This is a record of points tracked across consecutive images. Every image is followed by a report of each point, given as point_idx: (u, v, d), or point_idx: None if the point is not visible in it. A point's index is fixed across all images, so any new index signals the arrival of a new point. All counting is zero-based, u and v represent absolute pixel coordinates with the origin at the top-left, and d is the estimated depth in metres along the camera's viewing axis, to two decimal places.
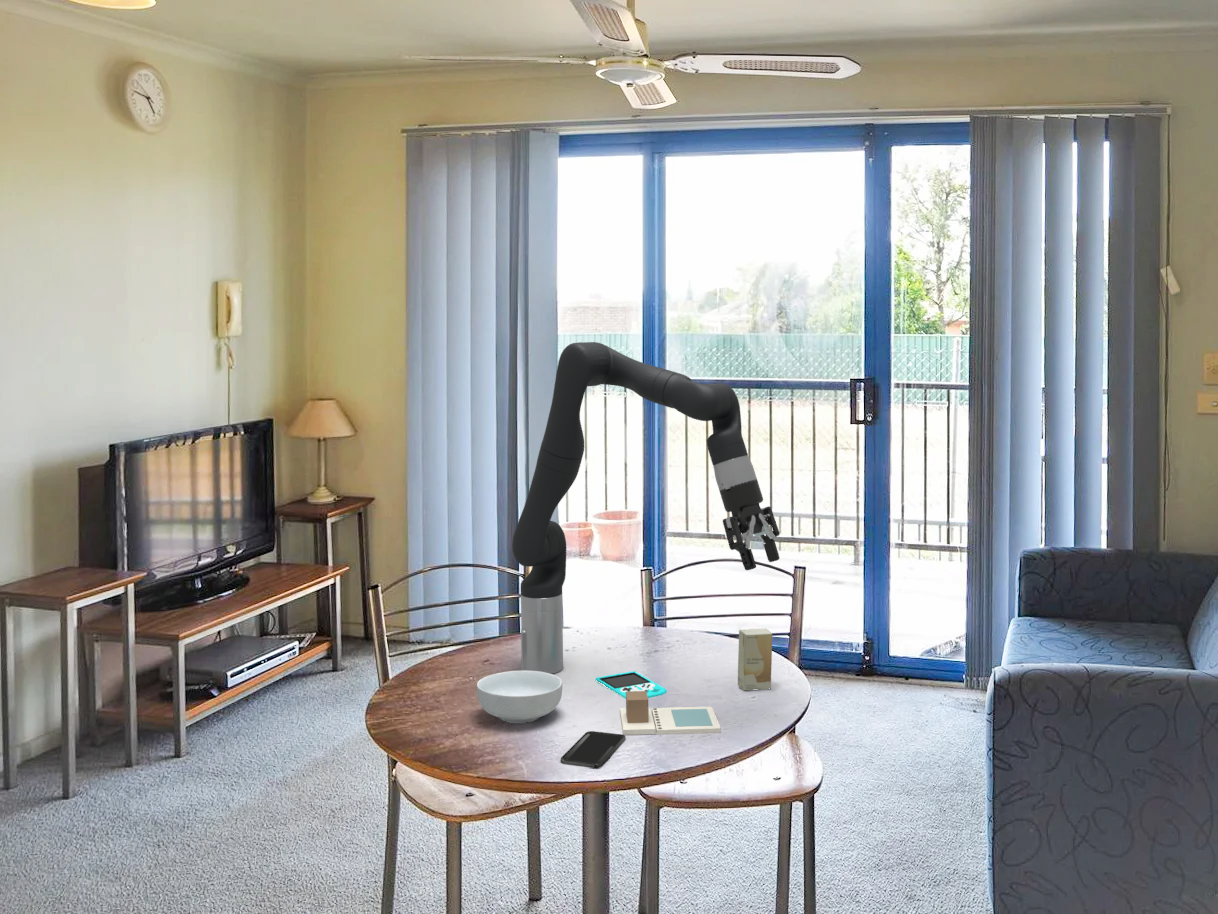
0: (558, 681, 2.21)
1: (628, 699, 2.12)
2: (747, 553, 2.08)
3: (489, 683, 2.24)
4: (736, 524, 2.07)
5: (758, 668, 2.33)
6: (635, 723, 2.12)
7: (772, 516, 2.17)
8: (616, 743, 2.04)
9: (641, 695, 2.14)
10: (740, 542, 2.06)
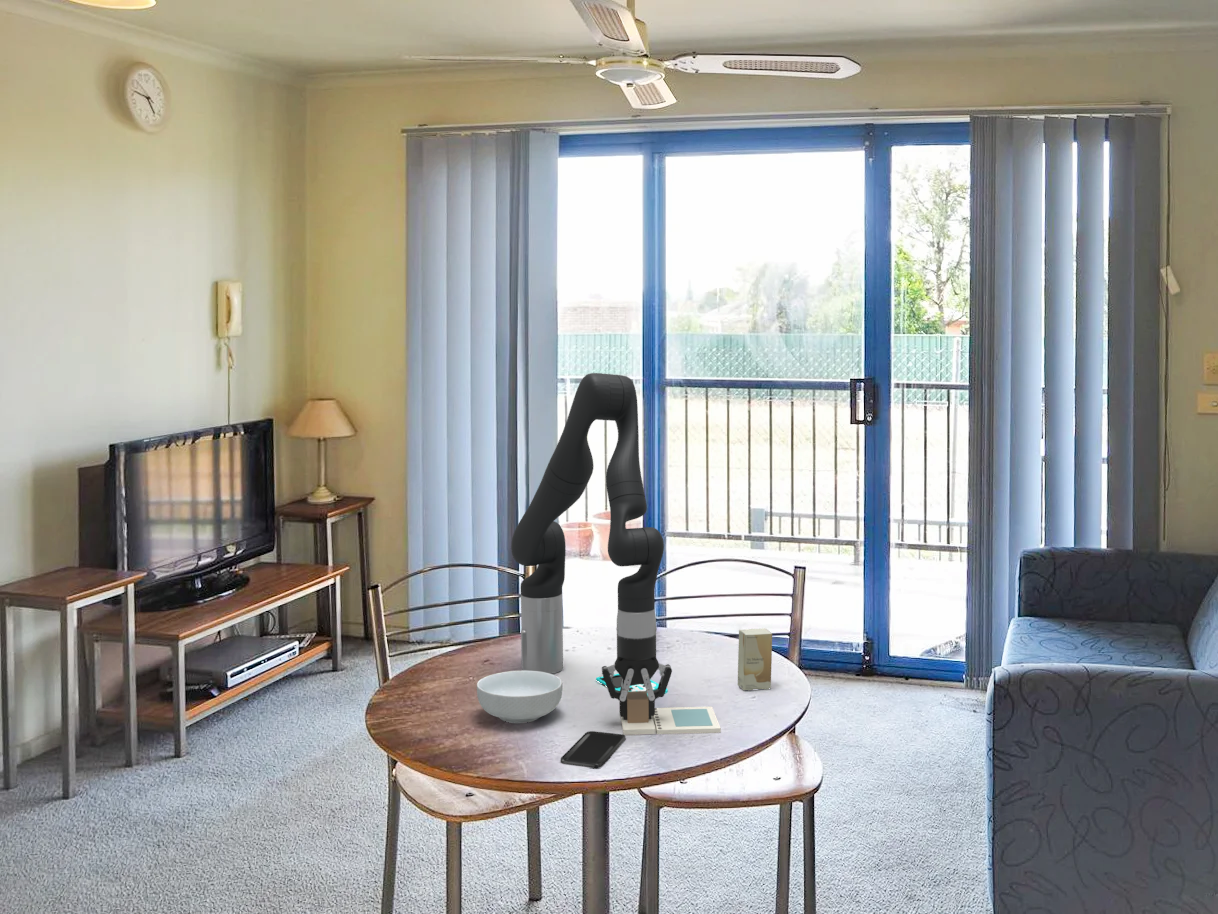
0: (558, 681, 2.21)
1: (628, 699, 2.12)
2: (621, 704, 2.14)
3: (489, 683, 2.24)
4: (607, 677, 2.12)
5: (758, 668, 2.33)
6: (635, 723, 2.12)
7: (667, 678, 2.13)
8: (616, 743, 2.04)
9: (641, 695, 2.14)
10: (612, 694, 2.13)
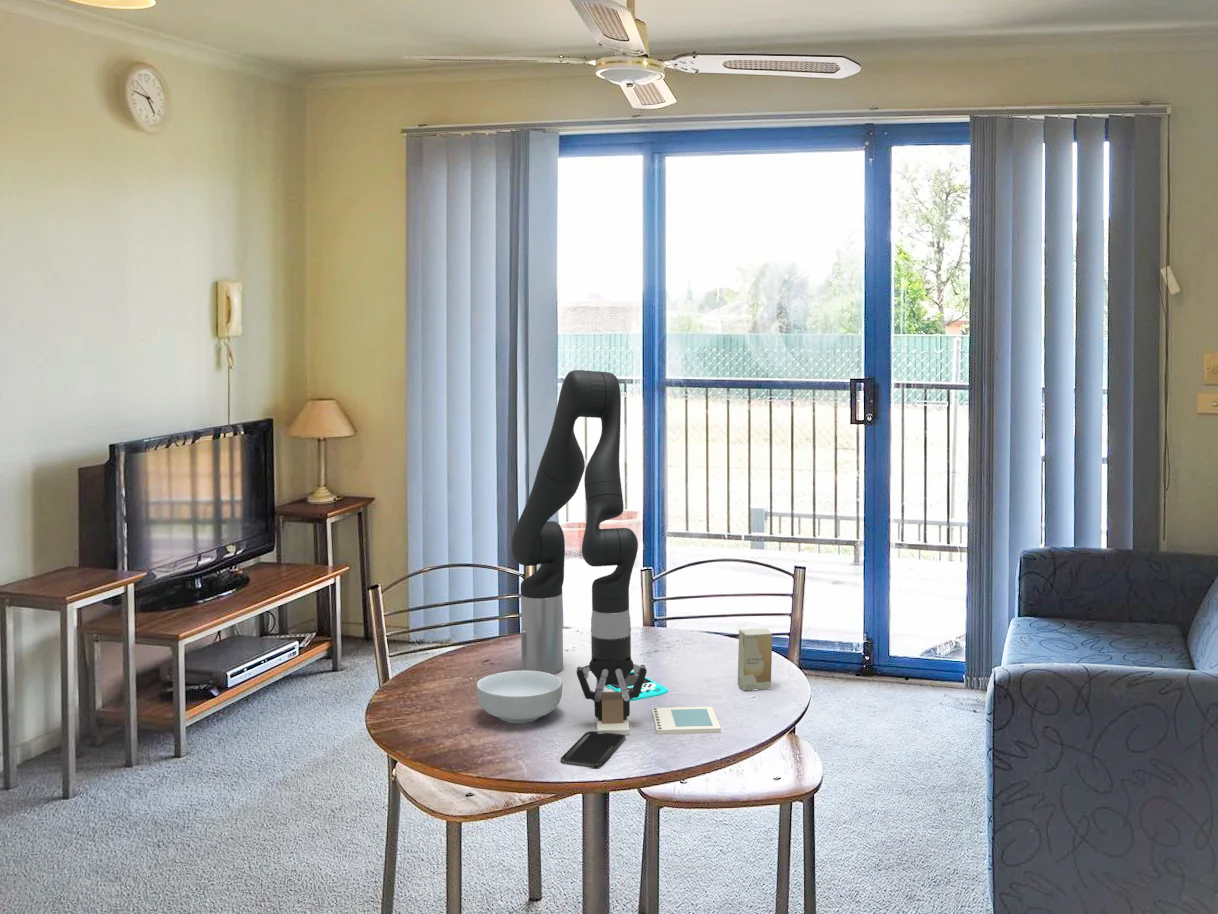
0: (558, 681, 2.21)
1: (603, 700, 2.12)
2: (596, 705, 2.13)
3: (489, 683, 2.24)
4: (581, 678, 2.12)
5: (758, 668, 2.33)
6: (610, 724, 2.12)
7: (641, 679, 2.13)
8: (616, 743, 2.04)
9: (616, 696, 2.14)
10: (586, 694, 2.13)
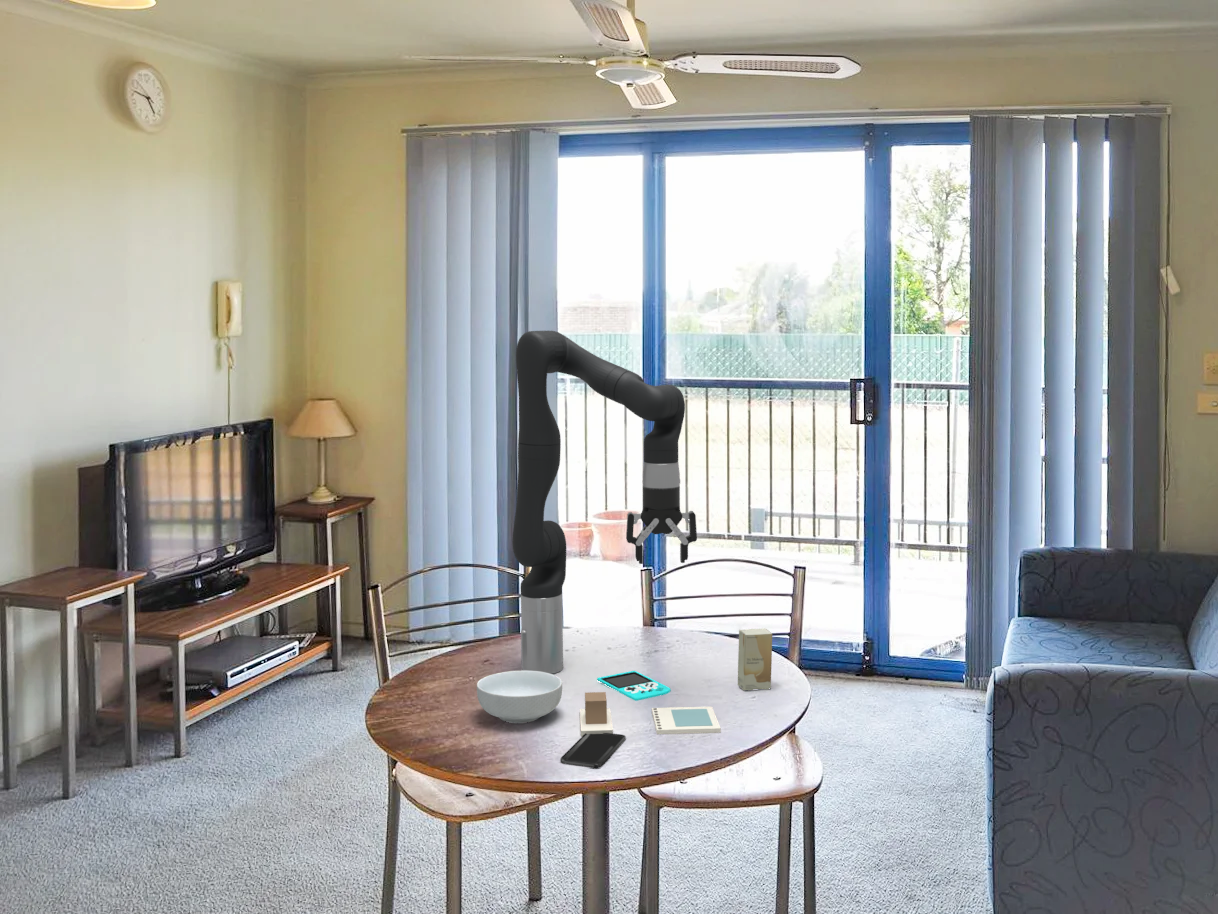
0: (558, 681, 2.21)
1: (586, 700, 2.12)
2: (637, 549, 2.26)
3: (489, 683, 2.24)
4: (630, 522, 2.25)
5: (758, 668, 2.33)
6: (593, 724, 2.11)
7: (693, 522, 2.26)
8: (616, 743, 2.04)
9: (600, 696, 2.14)
10: (628, 538, 2.26)
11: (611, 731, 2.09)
